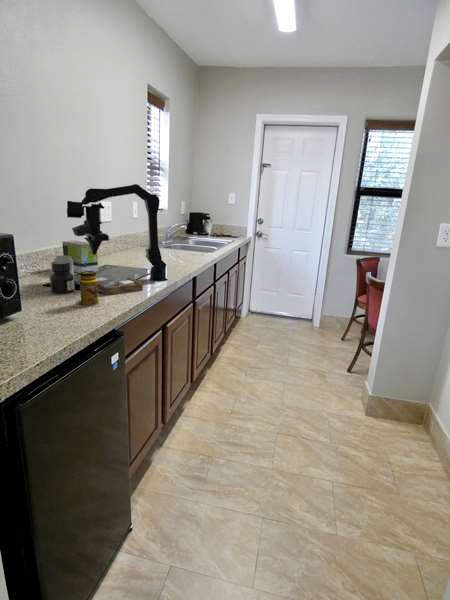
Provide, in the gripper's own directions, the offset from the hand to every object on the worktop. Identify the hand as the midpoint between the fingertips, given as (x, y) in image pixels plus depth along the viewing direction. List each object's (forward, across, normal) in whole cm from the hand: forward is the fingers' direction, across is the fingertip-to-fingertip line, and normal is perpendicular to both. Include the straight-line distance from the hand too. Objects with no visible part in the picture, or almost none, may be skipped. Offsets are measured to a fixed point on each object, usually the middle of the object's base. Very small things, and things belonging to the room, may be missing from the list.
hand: (94, 254), depth 156 cm
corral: (+12, +17, +3) cm, 21 cm away
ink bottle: (+13, +8, -16) cm, 23 cm away
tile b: (+13, +7, 0) cm, 14 cm away
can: (+13, -4, -11) cm, 18 cm away
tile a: (+13, +16, +8) cm, 22 cm away
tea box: (+13, -26, +4) cm, 30 cm away
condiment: (+13, +30, -15) cm, 35 cm away
